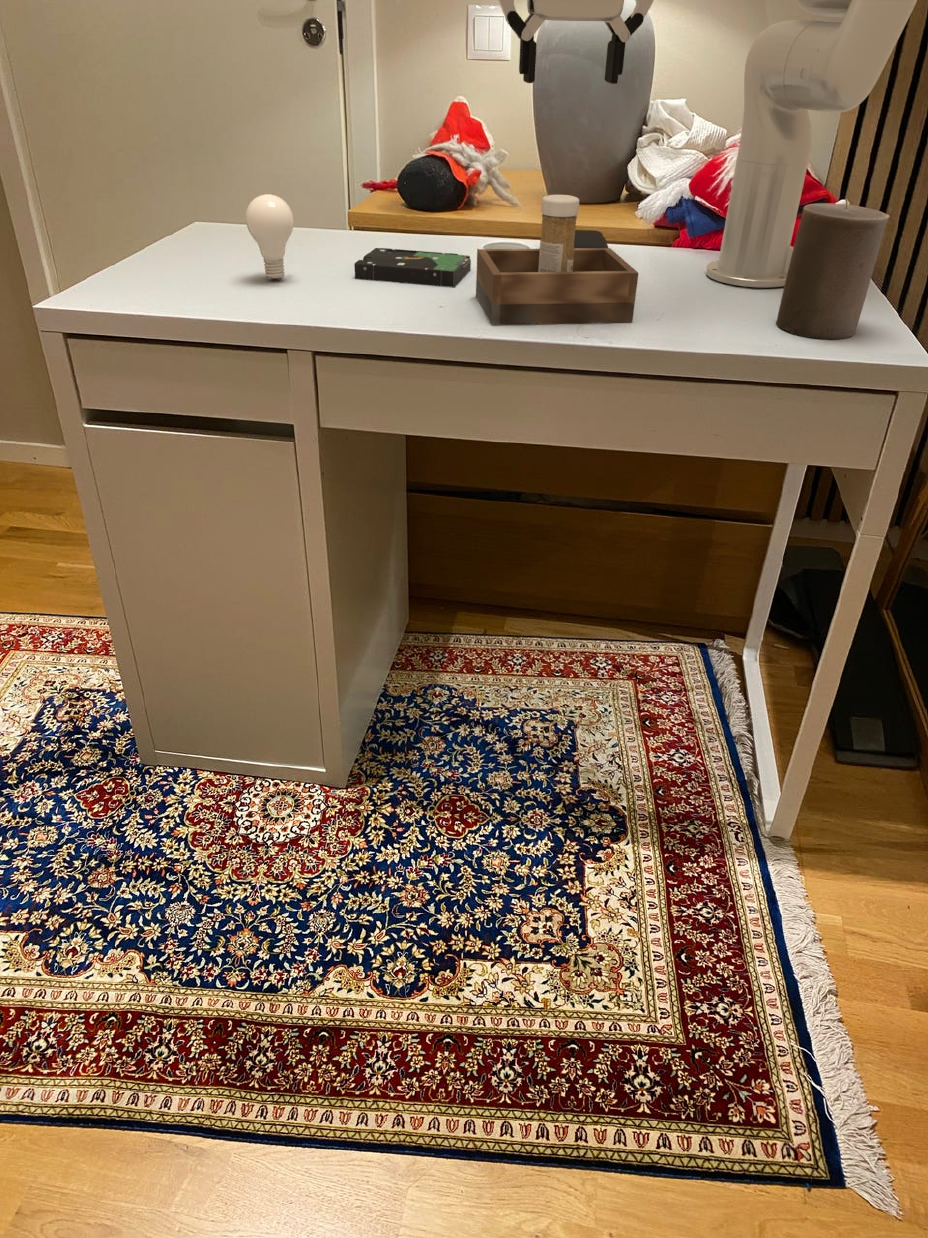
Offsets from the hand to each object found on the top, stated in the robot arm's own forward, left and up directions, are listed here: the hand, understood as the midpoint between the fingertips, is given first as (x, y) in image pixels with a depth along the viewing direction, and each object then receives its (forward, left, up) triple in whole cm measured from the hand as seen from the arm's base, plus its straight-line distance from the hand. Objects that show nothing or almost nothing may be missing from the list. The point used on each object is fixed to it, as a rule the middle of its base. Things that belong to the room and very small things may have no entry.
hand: (570, 82), depth 102 cm
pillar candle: (-32, +10, -26) cm, 42 cm away
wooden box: (0, 0, -26) cm, 25 cm away
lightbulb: (+36, -16, -26) cm, 47 cm away
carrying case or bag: (-10, -29, -26) cm, 40 cm away
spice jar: (0, 0, -26) cm, 26 cm away
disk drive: (+17, -18, -26) cm, 36 cm away
